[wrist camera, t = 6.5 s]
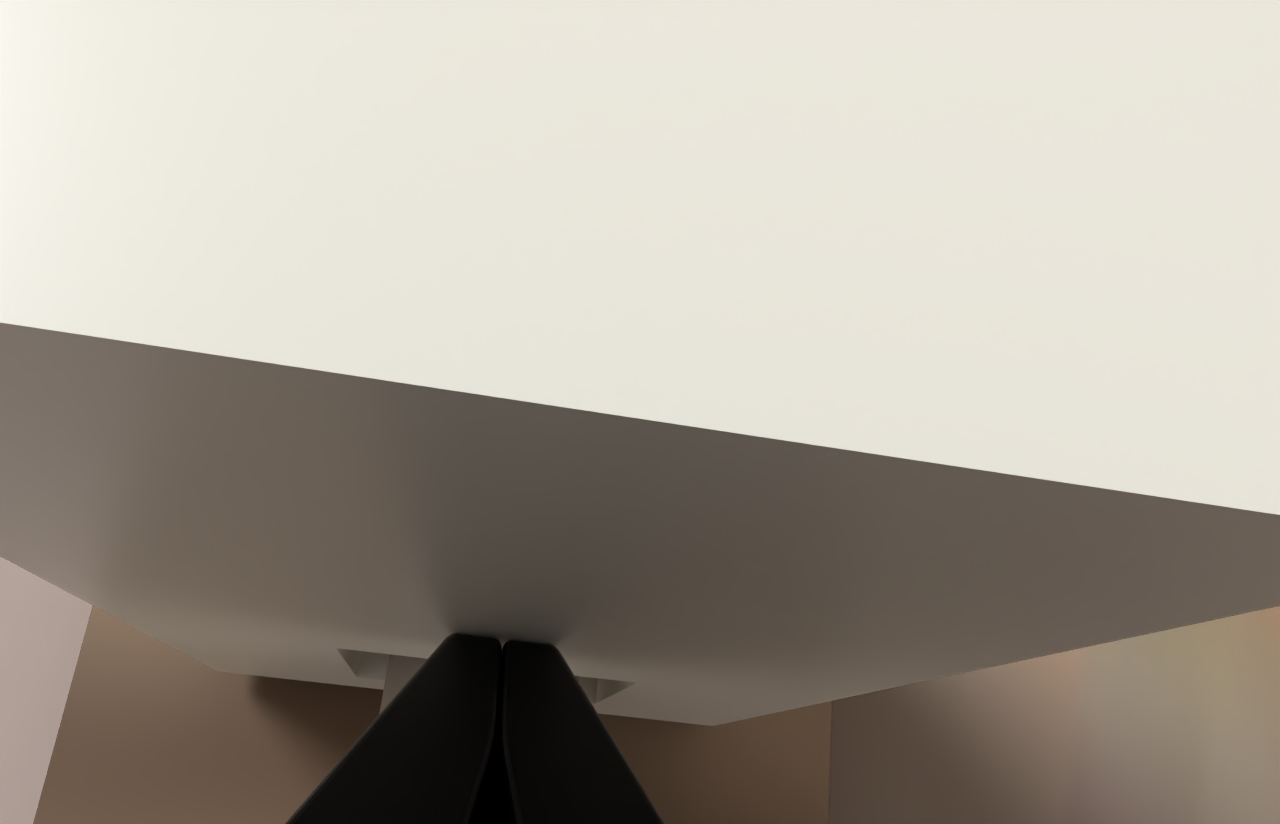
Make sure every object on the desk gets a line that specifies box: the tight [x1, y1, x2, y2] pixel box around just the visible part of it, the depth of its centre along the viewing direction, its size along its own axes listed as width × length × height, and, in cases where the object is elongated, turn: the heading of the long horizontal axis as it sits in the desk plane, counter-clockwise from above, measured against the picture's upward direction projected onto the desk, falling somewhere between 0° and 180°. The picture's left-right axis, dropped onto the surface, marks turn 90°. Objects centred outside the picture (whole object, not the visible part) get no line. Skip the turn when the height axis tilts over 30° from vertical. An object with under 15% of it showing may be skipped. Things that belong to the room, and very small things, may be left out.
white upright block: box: [0, 0, 1280, 726], centre depth 9 cm, size 4×6×11 cm, turn 84°
